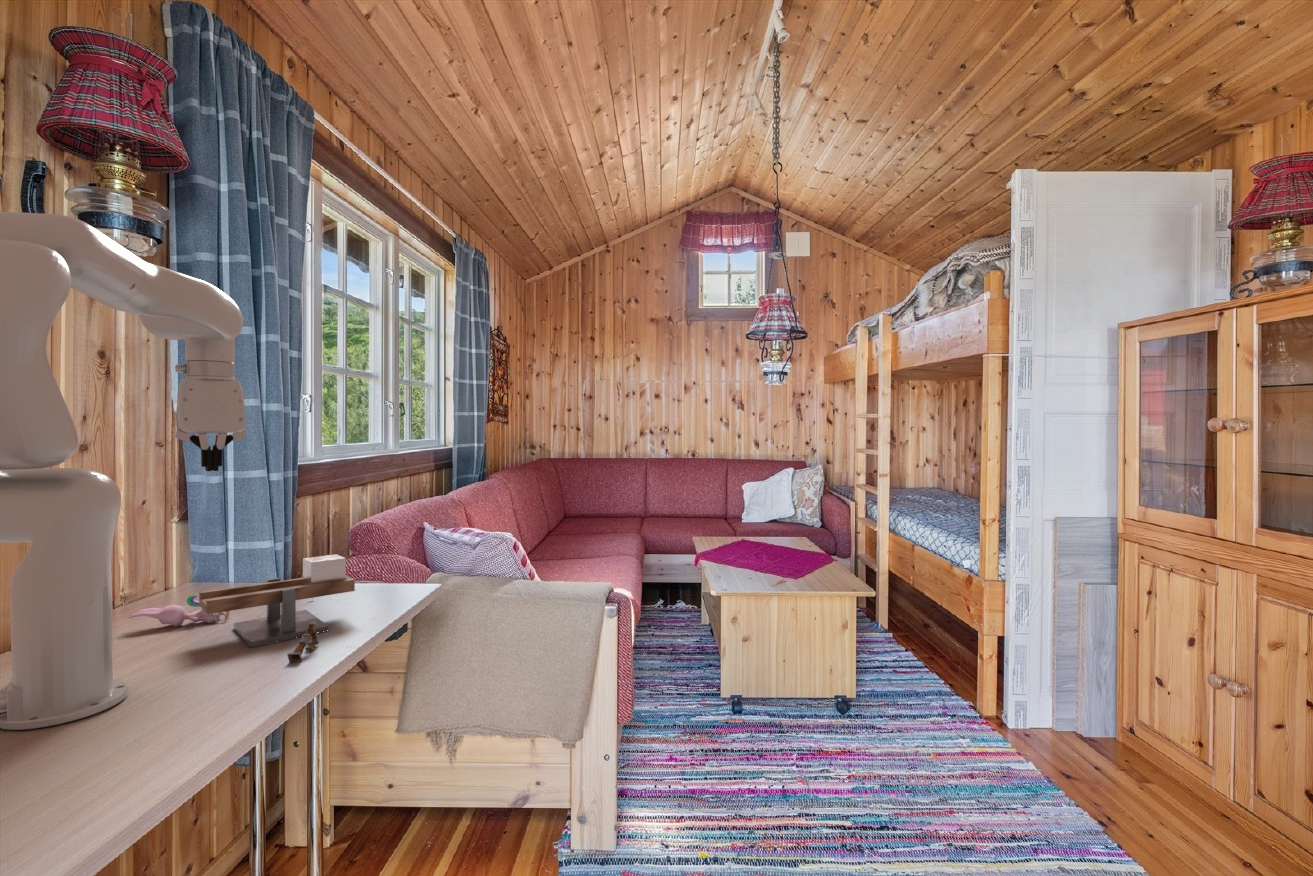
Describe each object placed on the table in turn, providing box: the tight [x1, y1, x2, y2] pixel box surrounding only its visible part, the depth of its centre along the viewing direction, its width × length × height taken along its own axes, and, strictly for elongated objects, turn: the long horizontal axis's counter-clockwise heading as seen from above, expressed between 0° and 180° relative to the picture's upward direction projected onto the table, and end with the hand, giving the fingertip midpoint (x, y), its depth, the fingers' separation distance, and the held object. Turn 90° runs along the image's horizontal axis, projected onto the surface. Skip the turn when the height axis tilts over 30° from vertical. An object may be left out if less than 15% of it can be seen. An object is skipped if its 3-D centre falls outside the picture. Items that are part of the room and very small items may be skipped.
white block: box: [302, 553, 347, 586], centre depth 117 cm, size 6×5×5 cm
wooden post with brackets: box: [286, 622, 320, 663], centre depth 100 cm, size 2×8×4 cm, turn 6°
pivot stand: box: [233, 577, 330, 648], centre depth 111 cm, size 12×14×8 cm
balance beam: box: [198, 574, 356, 614], centre depth 111 cm, size 23×8×2 cm, turn 135°
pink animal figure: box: [128, 594, 231, 627], centre depth 114 cm, size 6×6×15 cm
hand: (211, 470), depth 113 cm, fingers closed
